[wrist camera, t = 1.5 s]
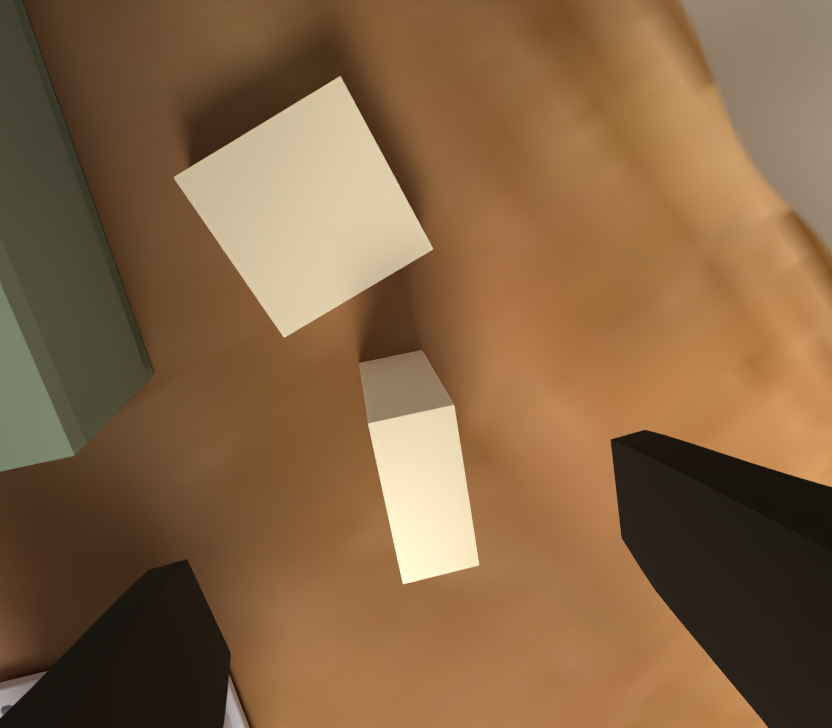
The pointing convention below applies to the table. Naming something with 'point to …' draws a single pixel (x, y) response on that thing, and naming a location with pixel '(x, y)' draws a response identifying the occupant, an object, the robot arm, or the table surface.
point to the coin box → (53, 275)
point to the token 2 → (419, 465)
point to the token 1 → (306, 208)
